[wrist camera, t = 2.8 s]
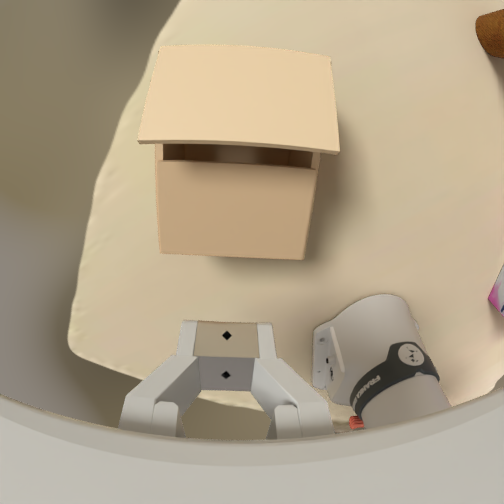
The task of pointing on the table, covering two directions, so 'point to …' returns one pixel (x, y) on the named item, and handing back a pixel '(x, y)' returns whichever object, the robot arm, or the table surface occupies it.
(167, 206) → the kraft carton
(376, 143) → the table surface
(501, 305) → the gum box
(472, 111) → the table surface
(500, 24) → the disposable coffee cup
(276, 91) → the carton flap
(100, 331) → the table surface
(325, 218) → the table surface
